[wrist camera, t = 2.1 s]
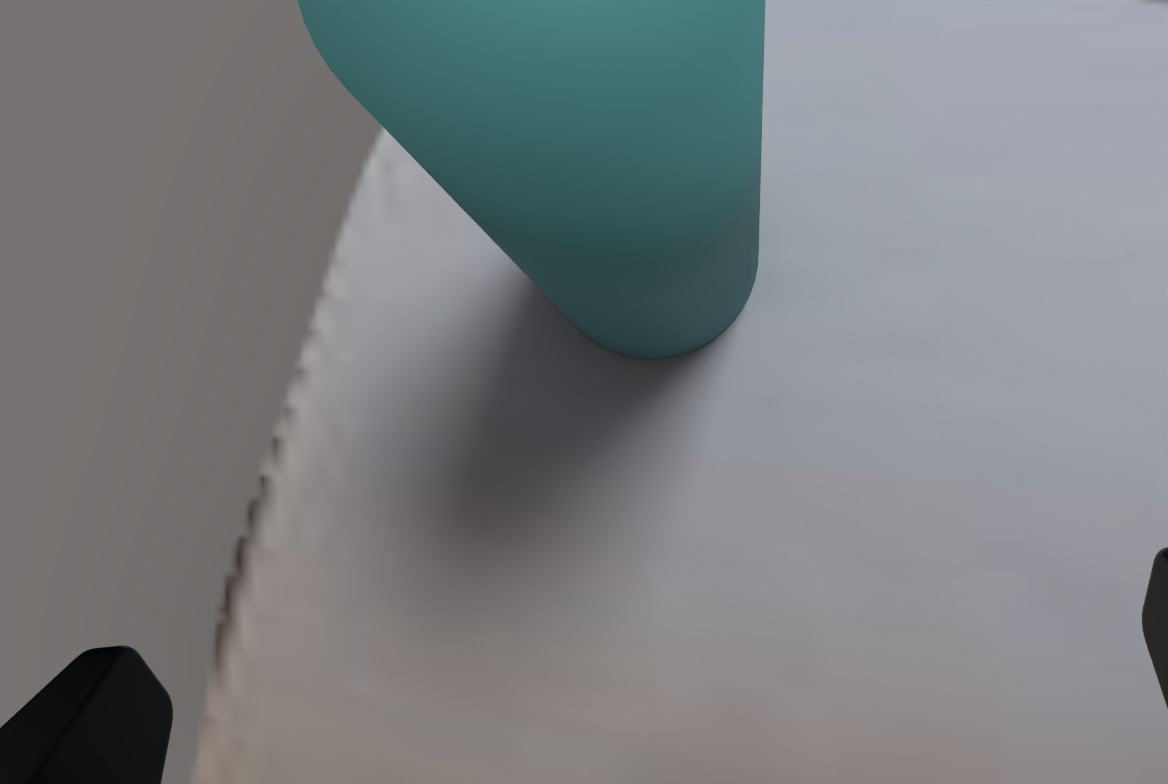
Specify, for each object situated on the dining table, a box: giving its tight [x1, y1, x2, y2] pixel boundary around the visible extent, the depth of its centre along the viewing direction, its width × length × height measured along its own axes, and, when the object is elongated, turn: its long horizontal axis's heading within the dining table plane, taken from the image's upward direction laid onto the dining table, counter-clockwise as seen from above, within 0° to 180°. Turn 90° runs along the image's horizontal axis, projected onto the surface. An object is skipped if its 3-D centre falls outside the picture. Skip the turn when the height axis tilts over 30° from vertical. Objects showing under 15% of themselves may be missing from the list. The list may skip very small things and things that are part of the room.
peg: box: [298, 0, 765, 359], centre depth 16 cm, size 5×5×13 cm
